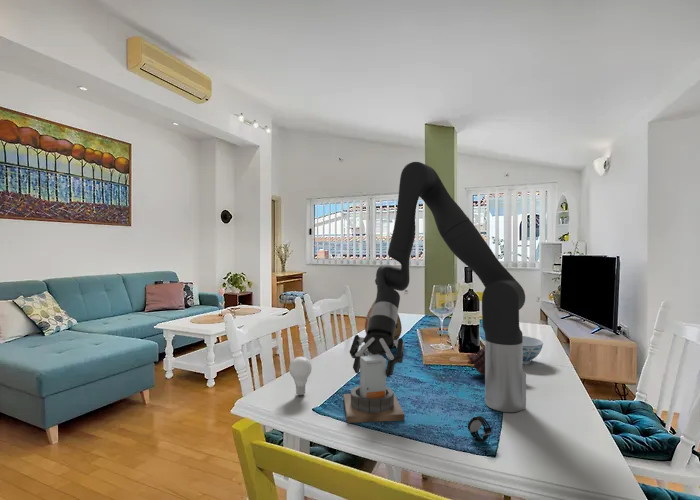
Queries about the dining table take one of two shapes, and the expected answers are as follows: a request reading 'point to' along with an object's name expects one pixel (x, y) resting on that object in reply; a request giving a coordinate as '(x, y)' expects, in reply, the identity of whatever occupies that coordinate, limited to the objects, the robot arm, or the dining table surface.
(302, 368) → the lightbulb
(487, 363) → the robot arm
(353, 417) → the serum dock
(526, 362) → the chinaware
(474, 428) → the smartwatch
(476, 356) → the pine cone
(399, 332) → the ceramic jug
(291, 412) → the dining table surface
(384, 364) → the skincare box
